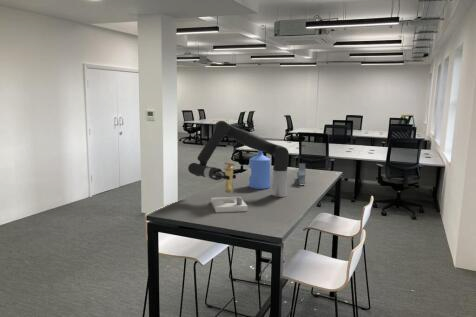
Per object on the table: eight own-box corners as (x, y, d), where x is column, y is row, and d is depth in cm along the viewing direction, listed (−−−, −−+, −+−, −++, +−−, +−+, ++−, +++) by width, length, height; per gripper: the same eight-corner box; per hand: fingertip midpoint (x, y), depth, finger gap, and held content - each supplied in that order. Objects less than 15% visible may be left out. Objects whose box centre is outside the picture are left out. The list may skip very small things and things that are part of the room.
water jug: (274, 186, 285) (275, 149, 281) (262, 190, 273) (263, 151, 269) (256, 183, 294) (257, 147, 290) (244, 187, 282) (245, 149, 278)
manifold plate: (211, 202, 237) (211, 191, 236) (240, 201, 241) (240, 190, 240) (215, 212, 216) (215, 200, 215) (247, 211, 219) (247, 199, 218)
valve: (221, 191, 228) (222, 163, 225) (228, 190, 232) (228, 162, 229) (229, 193, 223) (229, 164, 221) (235, 192, 227) (236, 163, 225)
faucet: (296, 192, 313) (297, 183, 285) (296, 172, 318) (298, 161, 290) (304, 192, 312) (306, 183, 284) (304, 172, 317) (306, 161, 289)
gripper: (204, 168, 230) (223, 172, 219) (221, 166, 240) (241, 169, 229) (204, 180, 232) (223, 185, 220) (221, 177, 242) (240, 182, 230)
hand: (232, 177), depth 224 cm, fingers closed on valve, 4 cm apart
